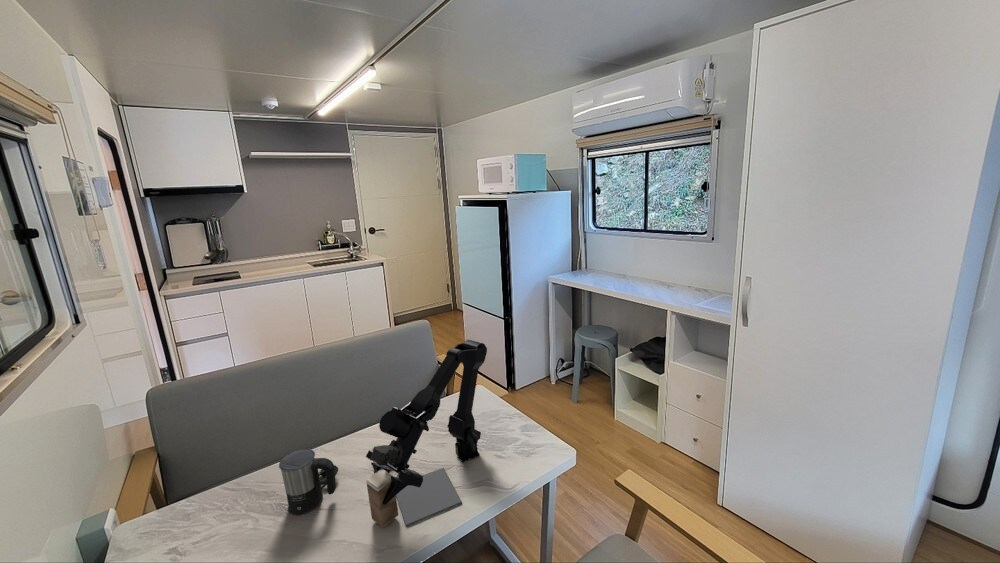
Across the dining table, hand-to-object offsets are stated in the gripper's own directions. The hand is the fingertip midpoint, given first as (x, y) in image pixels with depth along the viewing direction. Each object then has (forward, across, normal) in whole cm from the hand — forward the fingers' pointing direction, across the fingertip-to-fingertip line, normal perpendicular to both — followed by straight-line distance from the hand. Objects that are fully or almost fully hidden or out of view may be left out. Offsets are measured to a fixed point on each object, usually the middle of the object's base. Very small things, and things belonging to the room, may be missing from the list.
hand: (377, 499), depth 101 cm
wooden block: (+4, 0, +6) cm, 7 cm away
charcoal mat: (-4, +3, +15) cm, 16 cm away
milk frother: (+9, -26, +2) cm, 28 cm away
